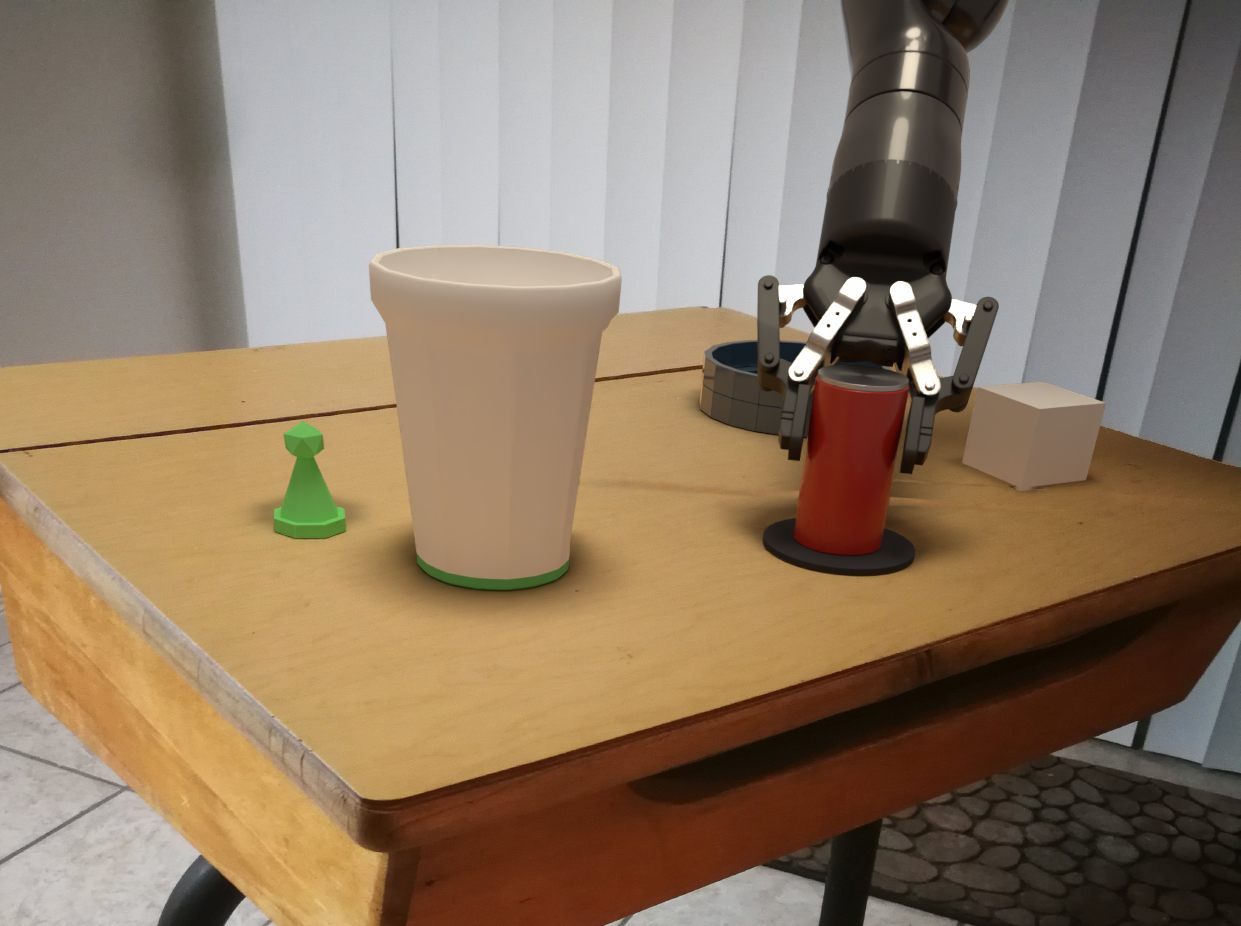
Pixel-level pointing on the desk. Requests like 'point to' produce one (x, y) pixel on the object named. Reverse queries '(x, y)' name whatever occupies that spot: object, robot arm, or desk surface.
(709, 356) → the dish
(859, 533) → the can
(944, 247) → the robot arm
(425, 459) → the cup
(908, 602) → the desk surface
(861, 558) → the coaster
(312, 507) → the game piece
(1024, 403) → the beige cube
